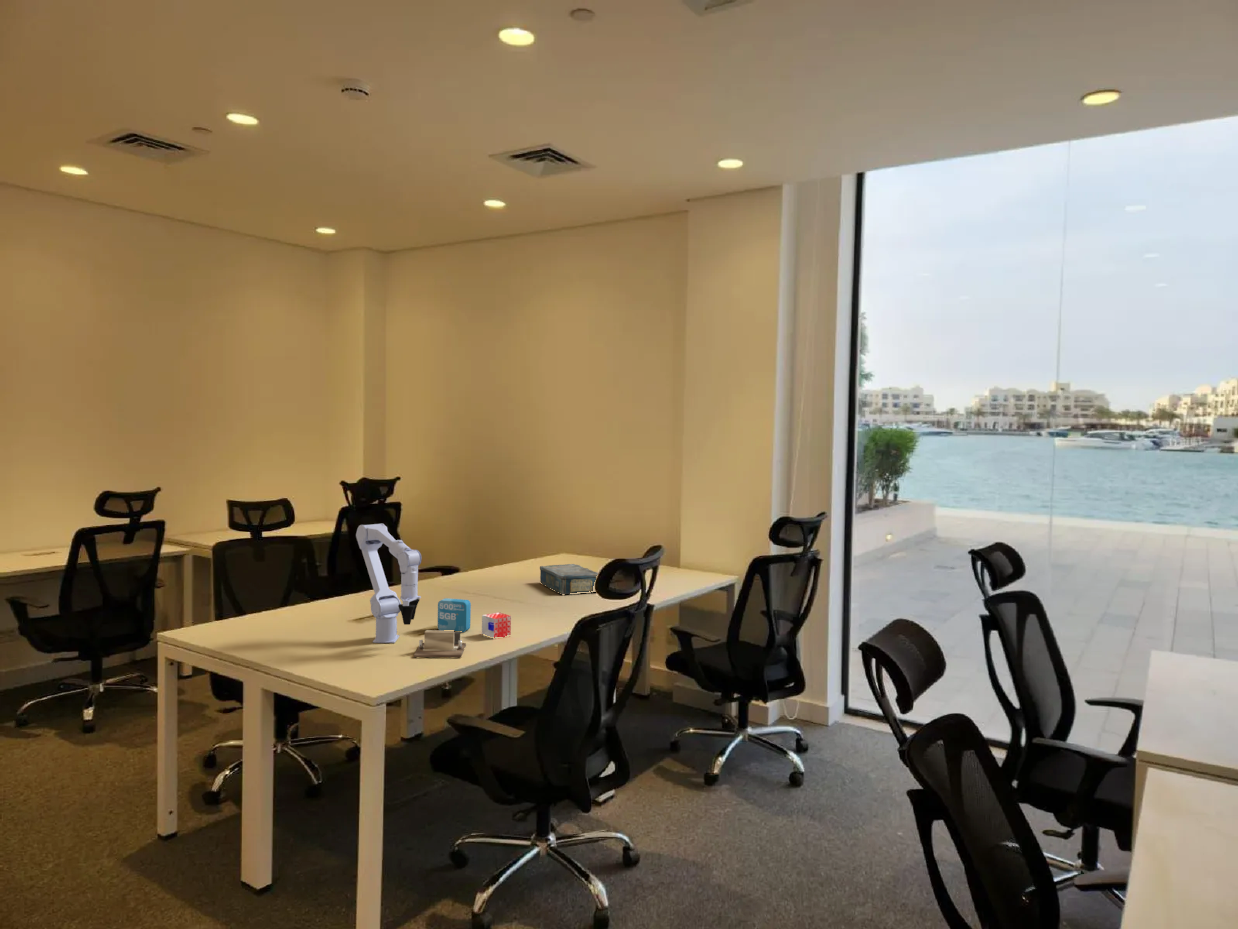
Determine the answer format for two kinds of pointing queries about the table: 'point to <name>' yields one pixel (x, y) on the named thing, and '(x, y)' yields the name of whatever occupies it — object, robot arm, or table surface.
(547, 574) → the metal box
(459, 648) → the hinge pins
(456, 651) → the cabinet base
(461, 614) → the data package
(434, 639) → the beige wooden block
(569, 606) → the table surface
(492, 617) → the puzzle cube
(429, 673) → the table surface
